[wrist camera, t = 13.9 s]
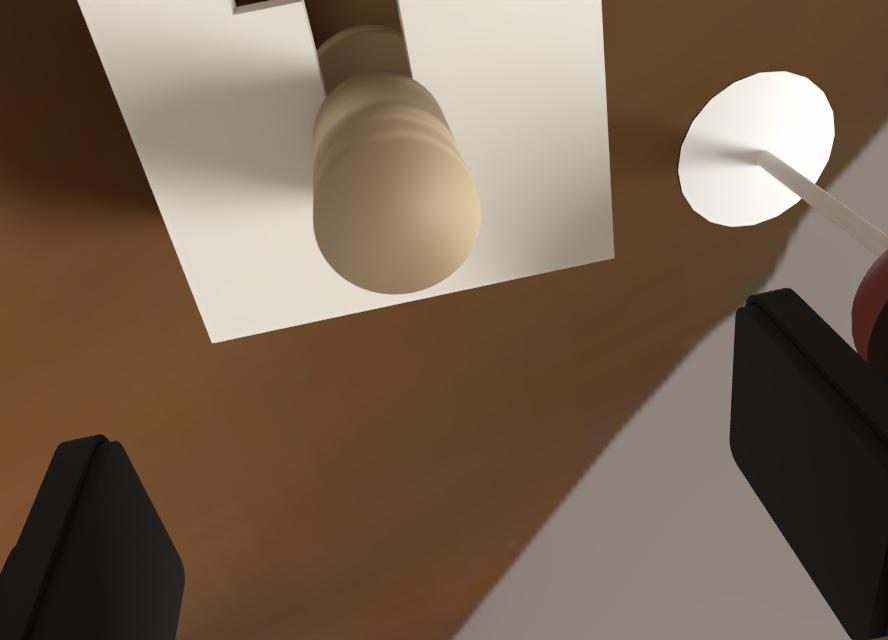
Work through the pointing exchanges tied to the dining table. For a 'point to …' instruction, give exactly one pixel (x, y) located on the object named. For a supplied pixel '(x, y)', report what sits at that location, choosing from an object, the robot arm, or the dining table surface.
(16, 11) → the dining table surface
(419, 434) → the dining table surface
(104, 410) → the dining table surface
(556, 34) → the keyhole shelf
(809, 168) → the wineglass
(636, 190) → the dining table surface
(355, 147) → the peg
